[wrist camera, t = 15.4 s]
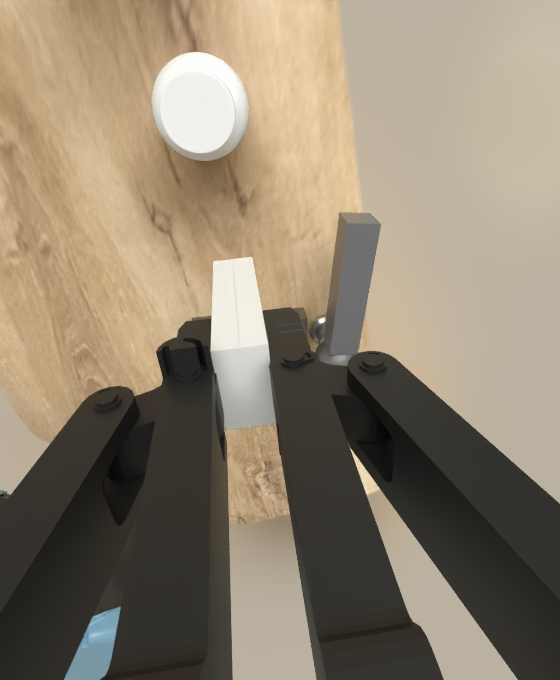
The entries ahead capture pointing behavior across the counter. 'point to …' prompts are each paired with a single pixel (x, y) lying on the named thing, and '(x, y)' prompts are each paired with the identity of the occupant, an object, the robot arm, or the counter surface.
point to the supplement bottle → (200, 106)
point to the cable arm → (349, 287)
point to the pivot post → (318, 329)
